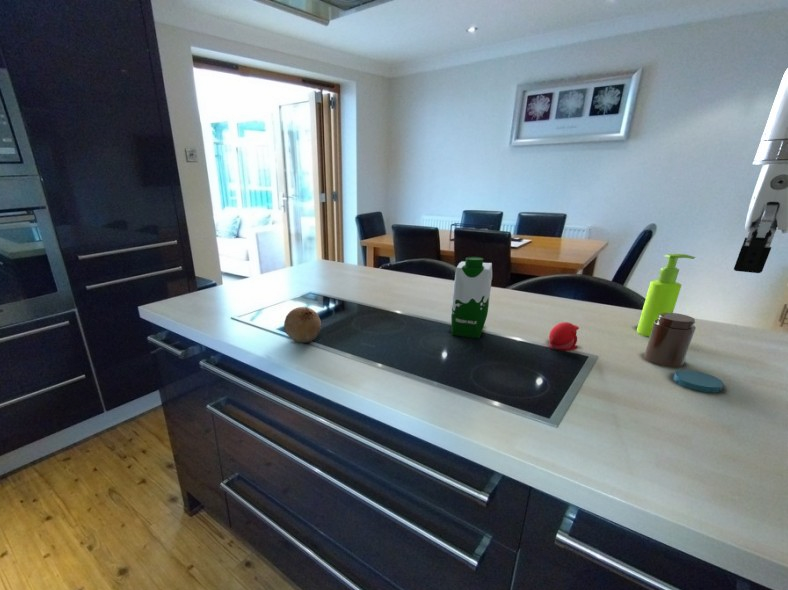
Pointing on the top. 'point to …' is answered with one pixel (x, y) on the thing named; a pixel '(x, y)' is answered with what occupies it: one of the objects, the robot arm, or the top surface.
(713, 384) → the lid
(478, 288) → the milk carton
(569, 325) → the cap
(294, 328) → the brown round piece
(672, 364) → the jar
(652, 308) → the soap dispenser
